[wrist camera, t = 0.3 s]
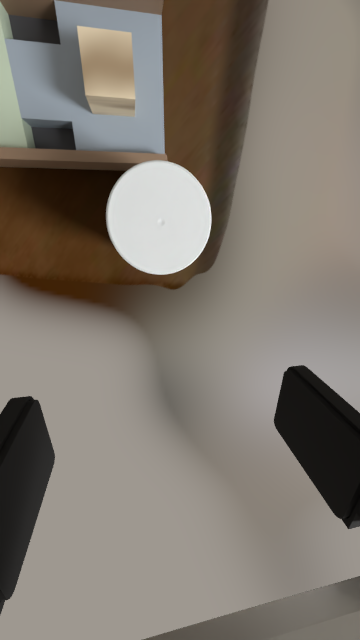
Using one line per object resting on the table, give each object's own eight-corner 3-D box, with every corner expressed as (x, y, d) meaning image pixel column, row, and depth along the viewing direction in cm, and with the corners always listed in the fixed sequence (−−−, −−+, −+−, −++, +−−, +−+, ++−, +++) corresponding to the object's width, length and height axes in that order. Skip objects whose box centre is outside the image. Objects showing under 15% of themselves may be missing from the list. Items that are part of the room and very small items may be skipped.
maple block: (86, 57, 24) (76, 25, 20) (131, 62, 25) (131, 32, 21) (92, 114, 26) (85, 95, 22) (134, 116, 27) (135, 99, 23)
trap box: (-101, -12, 22) (-160, -70, 18) (158, 22, 26) (163, -18, 22) (-44, 165, 28) (-78, 155, 23) (162, 171, 32) (167, 164, 27)
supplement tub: (160, 267, 37) (176, 296, 24) (102, 232, 33) (82, 243, 20) (194, 209, 34) (234, 205, 21) (136, 165, 31) (139, 127, 18)
